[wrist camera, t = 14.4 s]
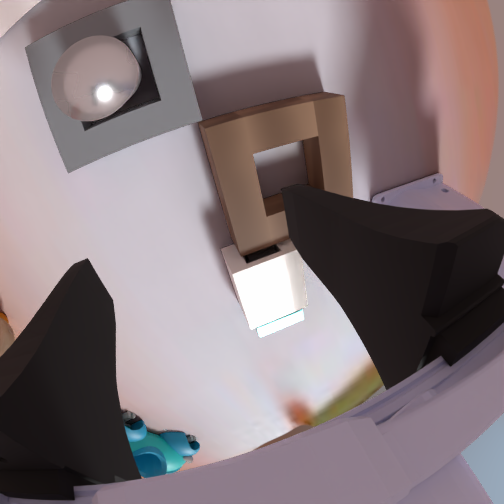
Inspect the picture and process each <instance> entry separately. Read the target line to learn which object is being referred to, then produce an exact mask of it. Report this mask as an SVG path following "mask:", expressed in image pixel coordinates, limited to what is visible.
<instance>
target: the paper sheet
mask: <svg viewBox="0 0 504 504" xmlns="http://www.w3.org/2000/svg"><path fill="white" fill-rule="evenodd" d="M40 1H41V0H0V38H1V37H2V36H3V35H4V34H5V33H6V32H7V31H8V30H9V29H10V28H11V27H12V26H13V25H14V24H15V23H16V22H17V21H18V20H19V19H20V18H21V17H22V16H23V15H25V14H26V13H27V12H28V11H29V10H30V9H31V8H33V7H34V6H35V5H36V4H37V3H38V2H40Z"/></svg>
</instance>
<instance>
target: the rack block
mask: <svg viewBox="0 0 504 504" xmlns="http://www.w3.org/2000/svg"><path fill="white" fill-rule="evenodd" d="M138 34H142V37H143V41H144V45H145V48H146V52H147V55H148V59H149V63H150V66H151V70H152V73H153V76H154V80H155V83H156V87H157V90H158V93H159V97H160V98H157V99H154V100H152V101H149V102H146V103H143V104H141V105H138V106H135V107H133V108H130V109H128V110H125V111H122V112H120V113H118V114H115V115H113V116H110V117H108V118H106V119H103V120H101V121H99V122H96V123H94V124H92V122H91V121H80V120H76V119H73V118H71V117H69V116H67V115H66V114H64V113H63V112H62V111H61V110H60V109H59V107H58V106H57V104H56V103H55V101H54V98H53V95H52V90H51V79H52V74H53V70H54V68H55V65H56V63H57V62H58V60H59V58H60V57H61V56H62V54H63V53H64V52H65V51H66V50H67V49H68V48H69V47H70V46H72V45H73V44H74V43H76V42H78V41H80V40H82V39H84V38H87V37H91V36H97V35H104V36H110V37H113V38H116V39H118V40H120V41H121V40H124V39H127V38H129V37H132V36H135V35H138ZM25 50H26V54H27V57H28V61H29V65H30V68H31V72H32V75H33V79H34V82H35V85H36V89H37V92H38V95H39V98H40V101H41V104H42V107H43V110H44V113H45V116H46V119H47V121H48V124H49V127H50V130H51V132H52V135H53V137H54V140H55V143H56V145H57V148H58V150H59V153H60V155H61V158H62V160H63V162H64V165H65V167H66V169H67V172H68V173H70V172H72V171H74V170H77V169H79V168H81V167H83V166H85V165H87V164H89V163H92V162H94V161H96V160H98V159H100V158H103V157H105V156H107V155H110V154H112V153H114V152H117V151H119V150H122V149H124V148H126V147H129V146H131V145H134V144H136V143H139V142H142V141H144V140H147V139H150V138H152V137H155V136H158V135H160V134H163V133H166V132H169V131H172V130H175V129H178V128H181V127H184V126H187V125H190V124H193V123H196V122H199V121H202V117H201V113H200V109H199V106H198V102H197V98H196V95H195V91H194V87H193V84H192V80H191V76H190V73H189V69H188V65H187V62H186V58H185V54H184V50H183V47H182V43H181V39H180V35H179V32H178V28H177V24H176V20H175V16H174V13H173V9H172V5H171V1H170V0H128V1H125V2H122V3H119V4H117V5H114V6H111V7H108V8H106V9H103V10H101V11H98V12H96V13H93V14H91V15H88V16H86V17H84V18H81V19H79V20H77V21H75V22H73V23H70V24H68V25H66V26H64V27H62V28H60V29H58V30H56V31H54V32H52V33H50V34H48V35H46V36H45V37H43V38H41V39H39V40H37V41H35V42H34V43H32V44H30V45H28V46H27V47H25Z"/></svg>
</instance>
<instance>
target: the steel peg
mask: <svg viewBox="0 0 504 504" xmlns="http://www.w3.org/2000/svg"><path fill="white" fill-rule="evenodd" d="M141 78H142V72H141V68H140V65H139V63H138V62H137V60H136V58H135V57H134V55H133V53H132V52H131V50H130V49H129V48H128V47H127V46H126V45H125V44H124V43H123V42H121V41H120V40H118V39H116V38H113V37H110V36H104V35H97V36H91V37H87V38H84V39H82V40H80V41H78V42H76V43H74V44H73V45H72V46H70V47H69V48H68V49H67V50H66V51H65V52H64V53H63V54H62V56H61V57H60V58H59V60H58V62H57V63H56V65H55V68H54V70H53V74H52V79H51V90H52V95H53V98H54V101H55V103H56V104H57V106H58V107H59V109H60V110H61V111H62V112H63V113H64V114H66V115H67V116H69V117H71V118H73V119H76V120H80V121H95V120H99V119H102V118H105V117H107V116H109V115H111V114H113V113H114V112H116V111H117V110H118V109H119V108H121V107H122V105H123V104H124V103H125V102H126V101H127V100H128V99H129V98H130V97H131V96H132V95H133V94H134V93H135V92H136V91H137V89H138V87H139V85H140V82H141Z"/></svg>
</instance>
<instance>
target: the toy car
mask: <svg viewBox="0 0 504 504" xmlns="http://www.w3.org/2000/svg"><path fill="white" fill-rule="evenodd" d="M122 417H123V421H124V422H126V421H128V420H130V419H134V418H135V414H134V413H131V412H130V411H127V412H125V413H124V414H122ZM124 426H125V430H126V434H127V437H128V440H129V444H130V447H131V450H132V453H133V457H134V459H135V462H136V465H137V467H138V470H139V473H140V475H141V476H142V477H144V478H150V477H155V476H160V475H165V474H170V473H174V472H176V471H178V470H179V469H180V468H181V466H182V465H183V464H184V463H185V462H187V463H192V461H193V457H192V455H194V454H196V453H197V452H198V451H199V448H200V445H199V443H198V442H197V441H195V440H196V437H195V436H192V435H190V436H188V437H186V435H185V433H183V432H171V431H168V430H165V429H164V430H165V431H166V432H165V433H161V434H159V435H157V434H154V433H151V432H148V431H147V428H146V425H145V424H144V422H143V421H142V420H140V421H138V422H136V423H134V424H132V425H129V424H127V423H124ZM192 441H195V442H192ZM189 442H192V443H189Z"/></svg>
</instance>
